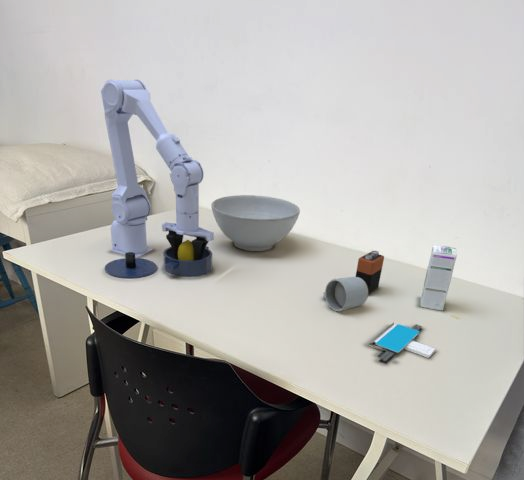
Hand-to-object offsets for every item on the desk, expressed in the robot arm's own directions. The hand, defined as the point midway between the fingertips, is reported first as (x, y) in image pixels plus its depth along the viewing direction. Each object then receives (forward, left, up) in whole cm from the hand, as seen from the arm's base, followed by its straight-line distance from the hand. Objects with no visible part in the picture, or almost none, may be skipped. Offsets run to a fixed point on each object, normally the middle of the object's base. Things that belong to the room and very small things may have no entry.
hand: (187, 261), depth 134 cm
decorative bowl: (+6, +29, -2) cm, 30 cm away
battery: (+46, +14, -2) cm, 48 cm away
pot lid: (-12, -9, -2) cm, 15 cm away
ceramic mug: (+43, +1, -2) cm, 43 cm away
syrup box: (+63, +14, -2) cm, 65 cm away
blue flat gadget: (+61, -11, -2) cm, 62 cm away
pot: (0, 0, -2) cm, 2 cm away
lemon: (0, 0, -2) cm, 2 cm away
